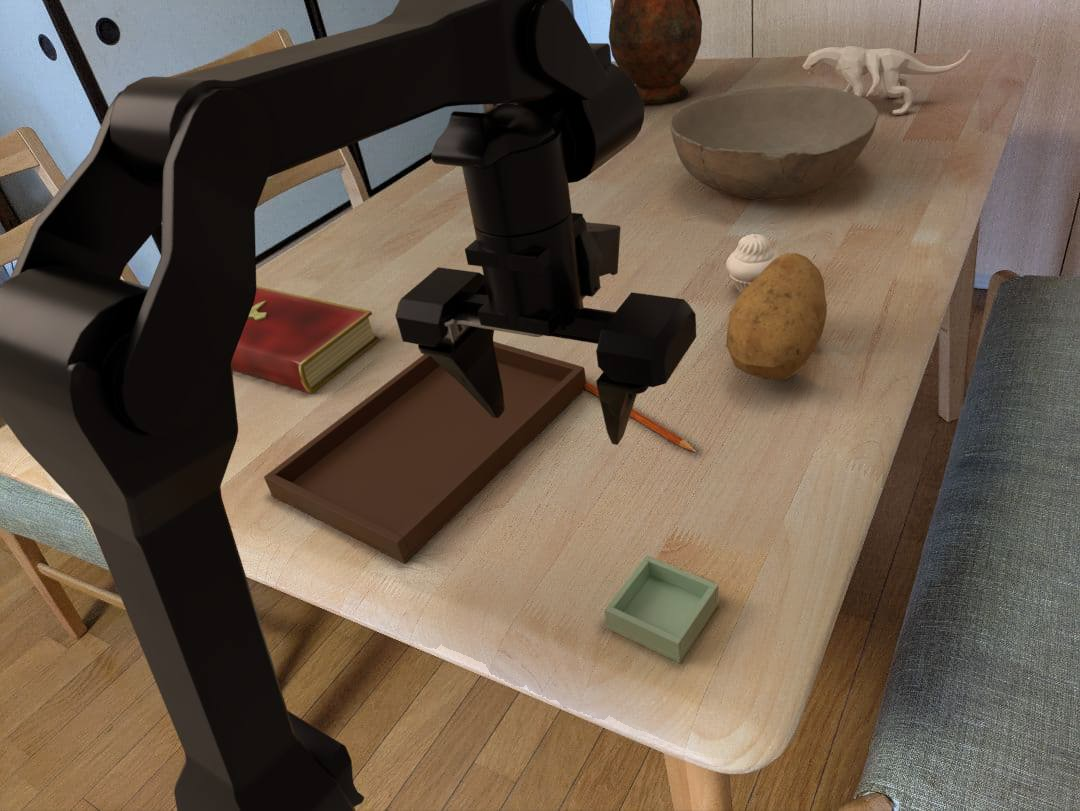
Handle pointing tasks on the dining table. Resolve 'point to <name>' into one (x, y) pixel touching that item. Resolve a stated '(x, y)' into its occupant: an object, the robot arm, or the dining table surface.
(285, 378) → the book
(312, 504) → the tray
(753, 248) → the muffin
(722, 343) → the dining table surface
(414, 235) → the dining table surface
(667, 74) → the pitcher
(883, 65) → the white dinosaur figurine
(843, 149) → the bowl
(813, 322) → the potato
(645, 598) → the celadon dish
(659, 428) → the pencil
